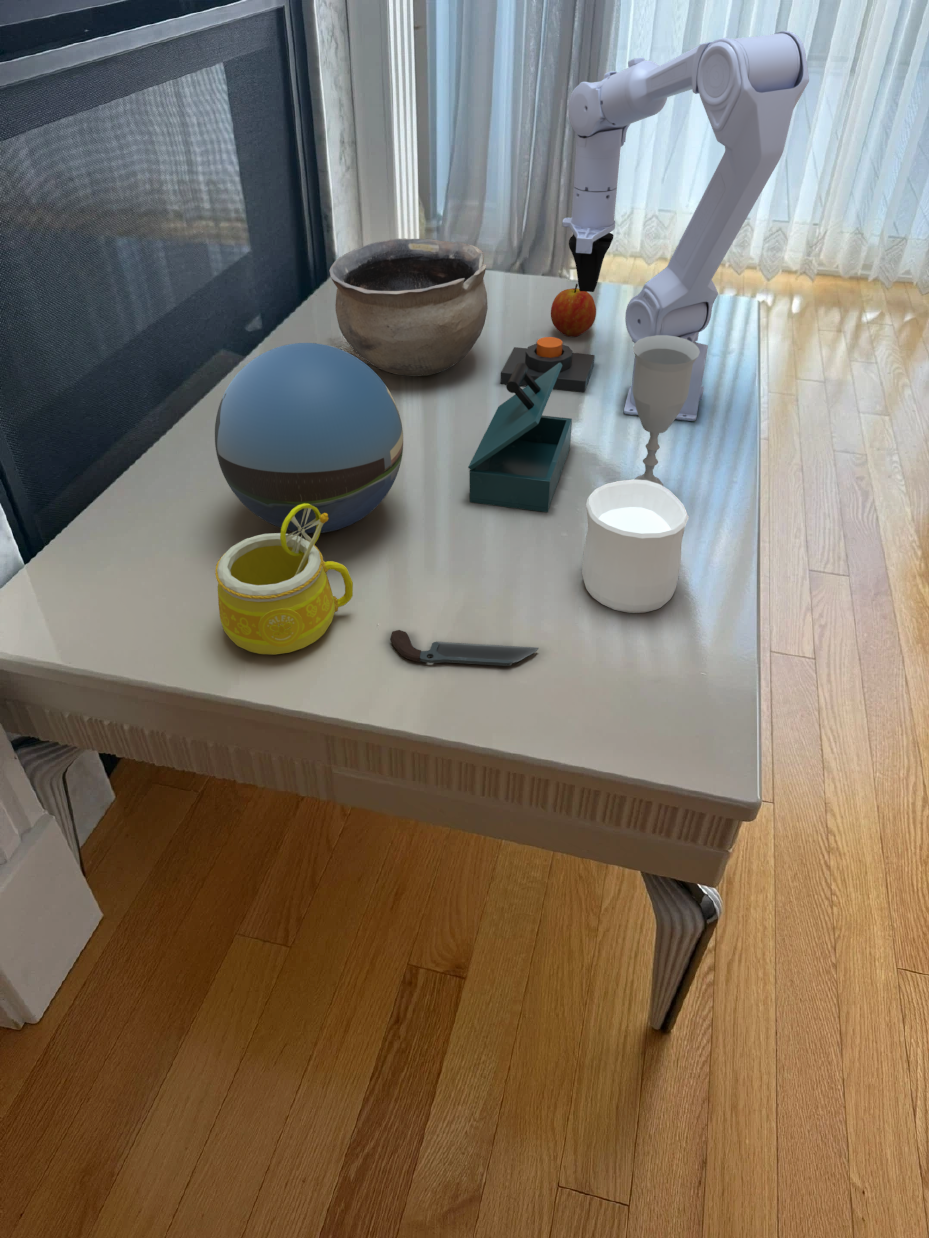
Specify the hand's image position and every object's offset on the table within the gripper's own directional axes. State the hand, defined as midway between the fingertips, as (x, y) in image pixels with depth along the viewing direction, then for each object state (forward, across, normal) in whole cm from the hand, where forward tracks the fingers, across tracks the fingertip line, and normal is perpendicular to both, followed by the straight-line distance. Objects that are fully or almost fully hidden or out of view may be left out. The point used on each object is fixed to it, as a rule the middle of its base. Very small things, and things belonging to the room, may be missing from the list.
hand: (587, 290), depth 127 cm
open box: (+10, +34, -2) cm, 36 cm away
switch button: (+7, +6, -4) cm, 10 cm away
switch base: (+10, +6, -4) cm, 13 cm away
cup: (+11, +53, +13) cm, 56 cm away
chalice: (+11, +36, +13) cm, 40 cm away
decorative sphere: (+11, +49, -22) cm, 55 cm away
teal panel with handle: (+3, +34, -3) cm, 34 cm away
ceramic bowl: (+11, +7, -24) cm, 27 cm away
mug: (+11, +67, -18) cm, 70 cm away
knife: (+10, +67, -1) cm, 68 cm away
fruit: (+11, -9, -3) cm, 14 cm away
